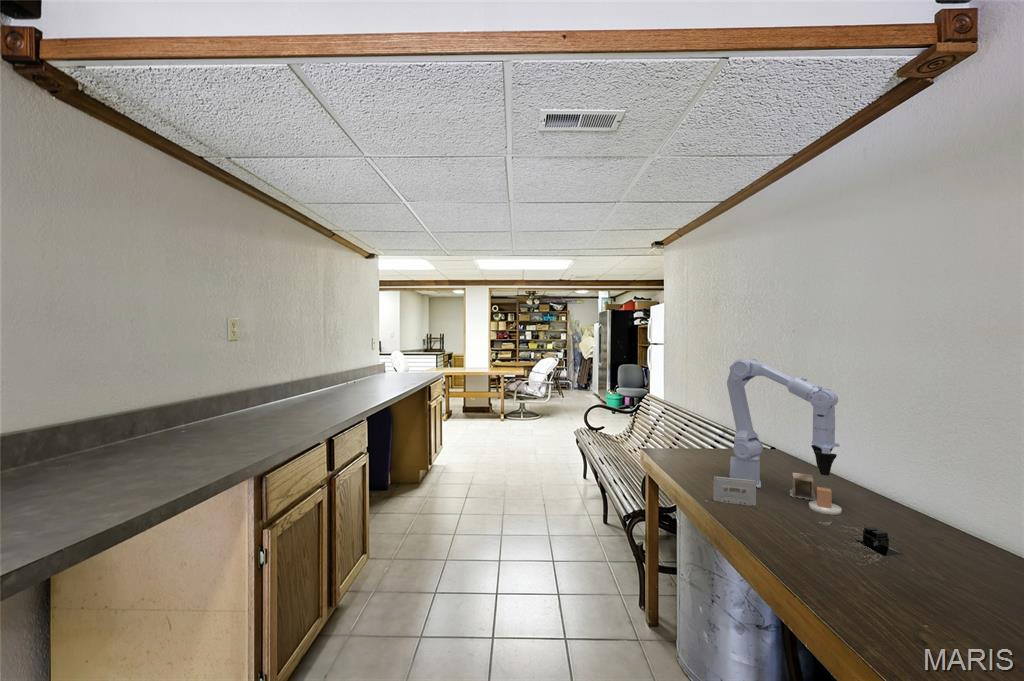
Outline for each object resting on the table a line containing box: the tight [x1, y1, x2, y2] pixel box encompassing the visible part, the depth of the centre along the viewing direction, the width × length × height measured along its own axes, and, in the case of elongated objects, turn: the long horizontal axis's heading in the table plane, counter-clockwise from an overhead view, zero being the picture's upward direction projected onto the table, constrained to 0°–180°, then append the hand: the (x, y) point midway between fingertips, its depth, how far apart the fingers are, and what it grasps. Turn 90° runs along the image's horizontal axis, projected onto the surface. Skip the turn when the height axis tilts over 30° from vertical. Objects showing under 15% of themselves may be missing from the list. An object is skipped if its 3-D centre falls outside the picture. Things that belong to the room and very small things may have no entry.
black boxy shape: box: [849, 526, 903, 557], centre depth 110 cm, size 12×7×5 cm, turn 8°
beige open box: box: [791, 472, 815, 499], centre depth 145 cm, size 5×6×6 cm
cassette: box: [712, 475, 757, 507], centre depth 138 cm, size 12×2×8 cm, turn 70°
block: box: [816, 486, 833, 509], centre depth 133 cm, size 3×3×5 cm
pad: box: [789, 489, 817, 501], centre depth 145 cm, size 7×7×1 cm
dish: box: [808, 500, 842, 516], centre depth 133 cm, size 8×8×1 cm
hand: (823, 471), depth 138 cm, fingers open, 7 cm apart
